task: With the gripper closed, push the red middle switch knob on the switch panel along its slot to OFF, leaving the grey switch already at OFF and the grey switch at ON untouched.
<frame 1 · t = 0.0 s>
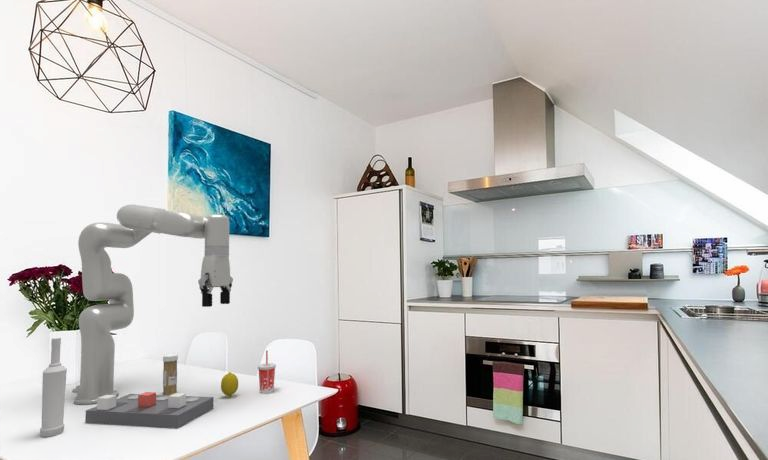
hand: (216, 305, 136), 31 cm above the table, fingers open, 9 cm apart
bottle: (52, 434, 112), on the table
left switch: (106, 402, 121), point 5 cm above the table, slide at 4.0 cm
sprinkles bottle: (169, 394, 145), on the table
red switch: (147, 399, 123), point 5 cm above the table, slide at 0.0 cm
beverage cup: (266, 392, 146), on the table
lemon: (229, 397, 141), on the table
right switch: (177, 400, 121), point 5 cm above the table, slide at 0.0 cm
switch panel: (151, 415, 124), on the table
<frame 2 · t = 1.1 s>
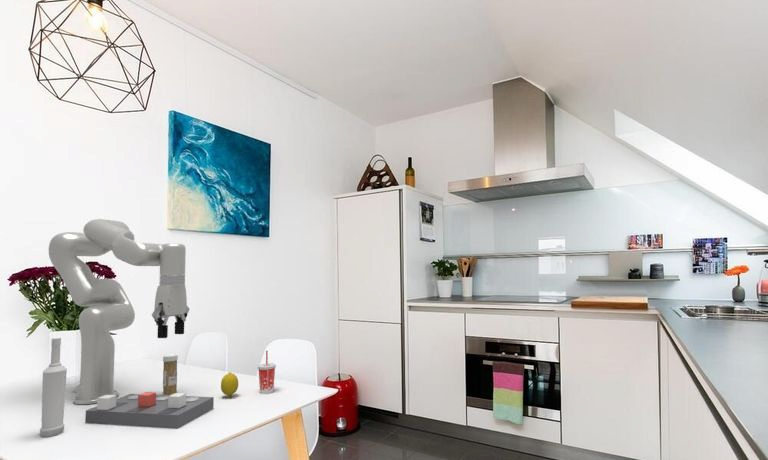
hand: (171, 335, 136), 22 cm above the table, fingers open, 7 cm apart
nothing on the table moved.
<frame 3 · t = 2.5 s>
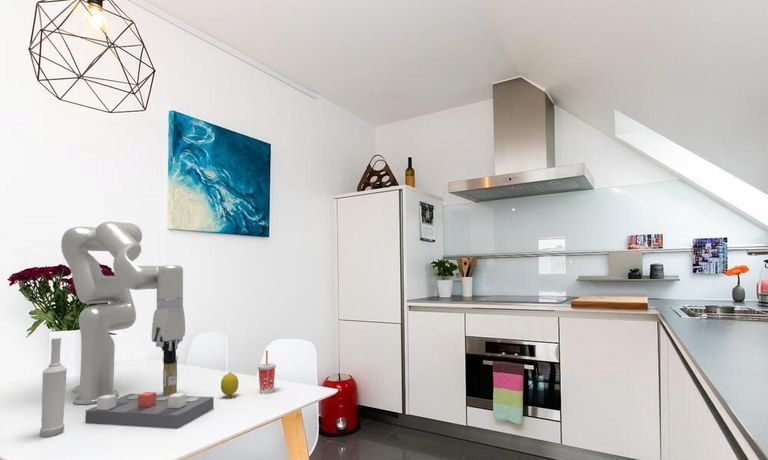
hand: (169, 363, 131), 14 cm above the table, fingers closed
nothing on the table moved.
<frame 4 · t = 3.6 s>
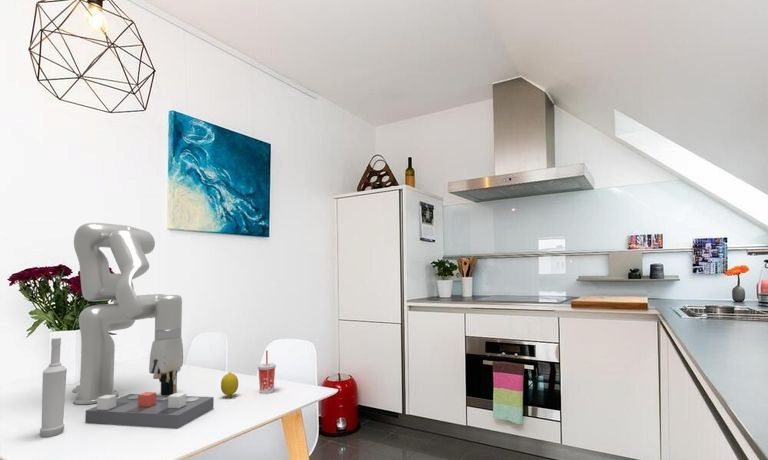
hand: (166, 394, 130), 4 cm above the table, fingers closed
nothing on the table moved.
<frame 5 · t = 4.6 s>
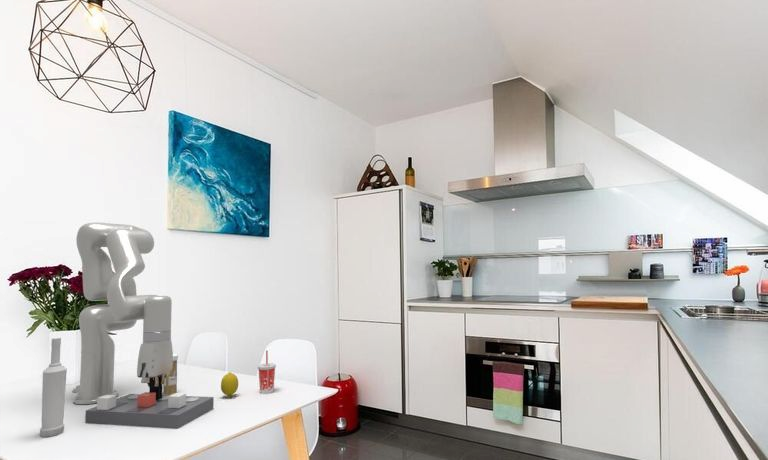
hand: (155, 399, 126), 4 cm above the table, fingers closed
red switch: (146, 399, 122), point 5 cm above the table, slide at 0.2 cm, touching gripper
everything else where it was.
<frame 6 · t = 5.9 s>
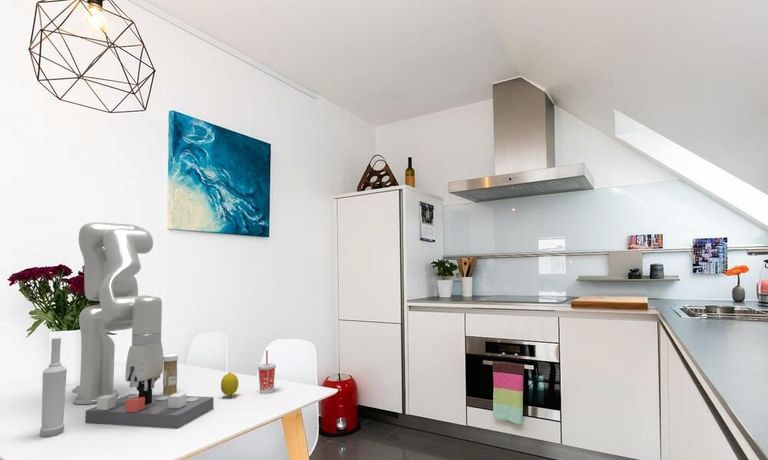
hand: (145, 403, 122), 4 cm above the table, fingers closed
red switch: (135, 404, 118), point 5 cm above the table, slide at 4.4 cm, touching gripper
everything else where it was.
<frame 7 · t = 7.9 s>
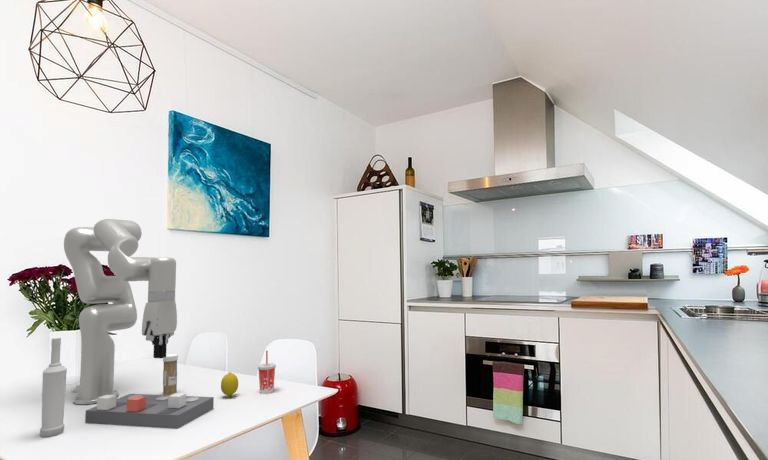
hand: (159, 357, 129), 16 cm above the table, fingers closed
red switch: (136, 403, 119), point 5 cm above the table, slide at 4.1 cm
everything else where it was.
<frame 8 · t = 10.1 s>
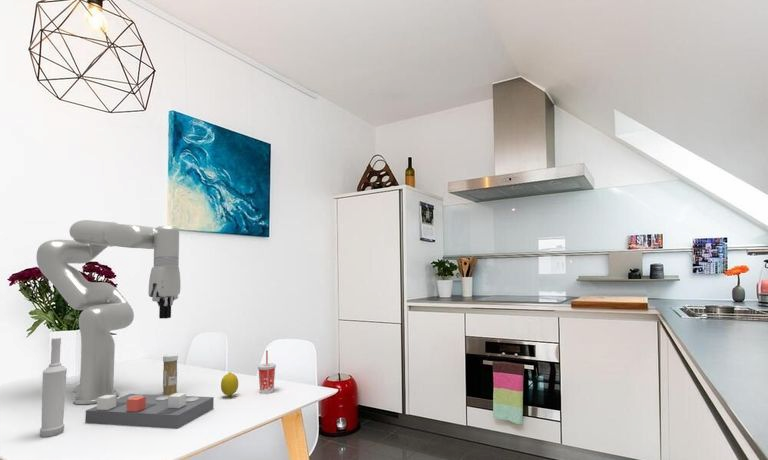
hand: (165, 318, 139), 27 cm above the table, fingers closed
nothing on the table moved.
at the end: red switch slide at 4.1 cm; left switch slide at 4.0 cm; right switch slide at 0.0 cm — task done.
